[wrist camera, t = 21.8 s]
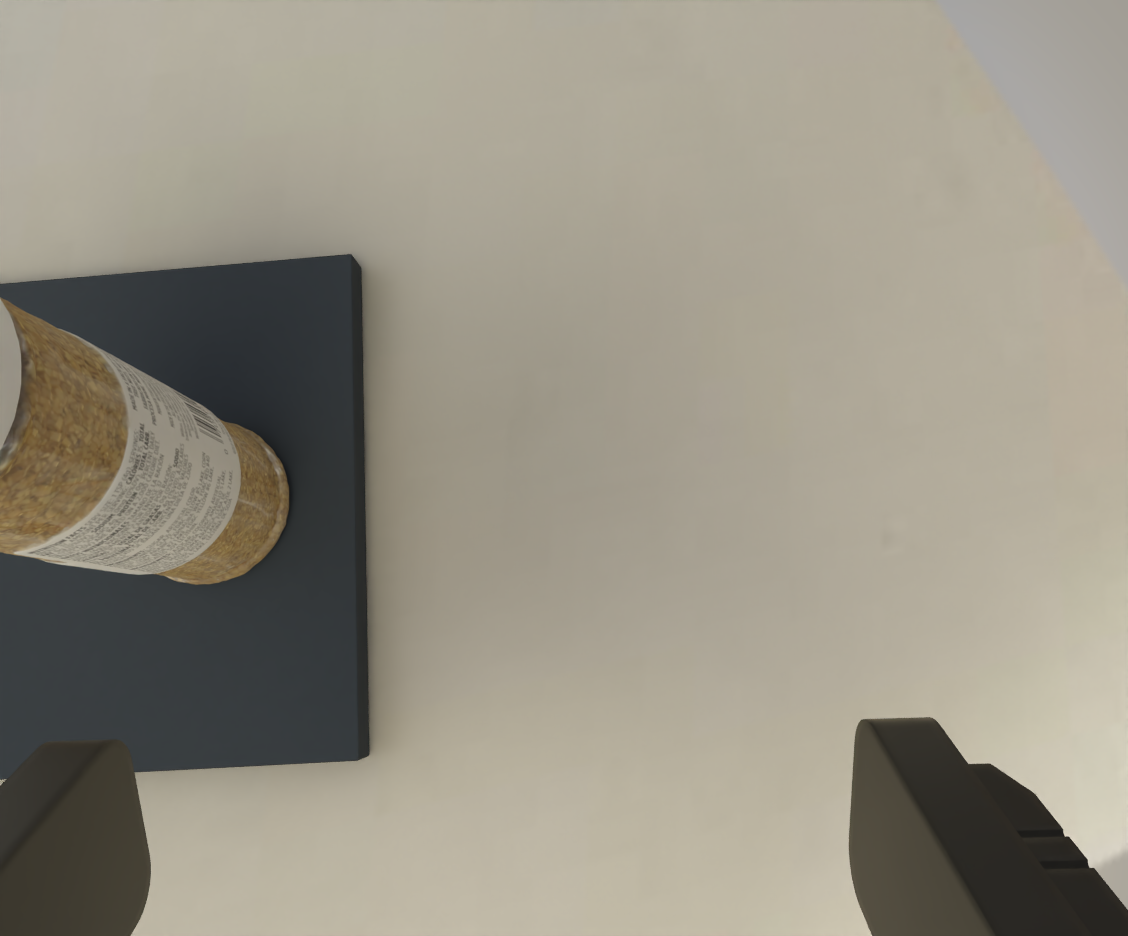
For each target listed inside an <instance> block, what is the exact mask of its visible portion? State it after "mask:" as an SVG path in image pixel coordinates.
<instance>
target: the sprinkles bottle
mask: <svg viewBox="0 0 1128 936" xmlns="http://www.w3.org/2000/svg"><path fill="white" fill-rule="evenodd" d="M288 510H289V485H288V482H287V476H286V473H285V470H284V467H283V464H282V463H281V461H280V459H279V458H278V457H277V456H276V454H275V452H274V450H273V449H272V448H271V447H270V446H269V445H267V444H266V443H265V442H264V441H263V439H262V438H261V437H260V436H258V435H257V434H255V433H254V432H252V431H250V430H247V429H245V428H243V427H241V426H239V425H237V424H233V423H228V422H224V421H222V420H220V419H219V418H217V417H216V416H215V415H214V414H213V413H212V412H211V411H209V410H208V409H207V408H205V407H204V406H202V405H201V404H199V403H197V402H195V401H193V400H191V399H190V398H188V397H186V396H184V395H182V394H181V393H179V392H177V391H176V390H174V389H172V388H170V387H169V386H167V385H165V384H163V383H162V382H160V381H158V380H156V379H154V378H152V377H151V376H149V375H147V374H145V373H143V372H142V371H140V370H138V369H136V368H134V367H133V366H131V365H129V364H127V363H125V362H124V361H122V360H120V359H118V358H116V357H115V356H113V355H111V354H109V353H107V352H105V351H104V350H102V349H100V348H98V347H96V346H94V345H93V344H91V343H89V342H87V341H85V340H84V339H82V338H80V337H78V336H76V335H74V334H72V333H69V332H67V331H64V330H62V329H58V328H56V327H54V326H52V325H51V324H49V323H47V322H45V321H44V320H42V319H40V318H38V317H35V316H33V315H31V314H29V313H26V312H25V311H23V310H21V309H20V308H18V307H16V306H15V305H13V304H12V303H10V302H9V301H7V300H5V299H2V298H0V552H2V553H6V554H12V555H18V556H25V557H31V558H36V559H40V560H43V561H45V562H50V563H55V564H60V565H68V566H75V567H83V568H90V569H97V570H104V571H111V572H118V573H126V574H136V575H143V574H157V575H162V576H166V577H168V578H170V579H172V580H174V581H177V582H184V583H189V584H195V585H198V584H214V583H219V582H222V581H227V580H229V579H232V578H235V577H238V576H241V575H243V574H245V573H246V572H248V571H249V570H250V569H251V568H252V567H253V566H255V565H256V564H257V563H259V562H260V561H261V560H262V559H263V558H264V557H265V556H266V555H267V554H268V553H269V552H270V550H271V549H272V548H273V547H274V546H275V544H276V542H277V541H278V539H279V537H280V535H281V532H282V531H283V529H284V527H285V526H286V519H287V515H288Z"/></svg>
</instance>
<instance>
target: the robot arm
mask: <svg viewBox="0 0 1128 936" xmlns="http://www.w3.org/2000/svg"><path fill="white" fill-rule="evenodd" d="M849 858H850V867H851V874H852V879H853V884H854V889H855V893H856V896H857V899H858V902H859V905H860V908H861V910H862V912H863V915H864V917H865V919H866V922H867V924H868V927H869V929H870V931H871V934H872V936H1128V910H1127V909H1126V907H1125V906H1124V905H1123V904H1122V902H1121V901H1120V900H1119V899H1118V897H1117V896H1116V895H1115V894H1114V892H1113V891H1112V890H1111V889H1110V887H1109V886H1108V885H1107V884H1106V882H1105V881H1104V880H1103V879H1102V877H1101V876H1100V875H1099V874H1098V872H1097V871H1096V870H1095V869H1094V868H1089V866H1088V860H1087V859H1086V857H1085V856H1084V855H1083V854H1082V852H1081V851H1080V850H1079V849H1078V847H1077V846H1076V845H1075V844H1074V842H1073V841H1072V840H1071V839H1070V837H1065V836H1064V834H1063V829H1062V827H1061V826H1060V825H1059V824H1058V822H1057V821H1056V820H1055V819H1054V817H1053V816H1052V815H1051V814H1050V812H1049V811H1048V810H1047V809H1046V807H1045V806H1044V805H1043V804H1042V802H1041V801H1040V800H1039V799H1038V797H1037V796H1036V795H1035V794H1034V793H1033V792H1032V791H1030V790H1029V789H1027V788H1026V787H1024V786H1023V785H1021V784H1020V783H1018V782H1017V781H1015V780H1014V779H1012V778H1011V777H1009V776H1008V775H1006V774H1005V773H1003V772H1002V771H1000V770H999V769H997V768H996V767H994V766H993V765H991V764H968V763H967V762H966V760H965V759H964V758H963V756H962V755H961V753H960V752H959V751H958V749H957V748H956V747H955V745H954V744H953V742H952V741H951V740H950V738H949V737H948V736H947V734H946V733H945V731H944V730H943V729H942V727H941V726H940V725H939V723H938V722H937V721H936V720H935V719H933V718H930V717H925V718H891V719H863V720H861V721H860V722H859V724H858V726H857V729H856V735H855V745H854V762H853V779H852V796H851V813H850V830H849ZM150 877H151V862H150V854H149V849H148V844H147V838H146V833H145V827H144V822H143V817H142V811H141V806H140V800H139V795H138V789H137V784H136V779H135V773H134V768H133V762H132V758H131V754H130V752H129V749H128V748H127V746H126V745H125V744H124V743H123V742H122V741H120V740H116V739H111V740H77V741H50V742H46V743H44V744H42V745H41V746H39V747H38V748H37V749H36V750H35V751H34V752H33V753H32V754H31V755H30V756H29V757H28V758H27V759H26V760H25V761H24V762H23V763H22V764H21V765H20V766H19V767H18V768H17V769H16V771H15V772H14V773H13V774H12V775H11V776H10V777H9V778H8V779H7V780H6V781H5V782H4V783H3V784H2V785H1V786H0V936H130V935H131V934H132V932H133V930H134V929H135V927H136V925H137V923H138V922H139V920H140V918H141V915H142V913H143V910H144V907H145V904H146V901H147V897H148V892H149V886H150Z"/></svg>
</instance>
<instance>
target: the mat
mask: <svg viewBox="0 0 1128 936" xmlns="http://www.w3.org/2000/svg"><path fill="white" fill-rule="evenodd" d="M0 298H2V299H5V300H7V301H9V302H10V303H12V304H13V305H15V306H16V307H18V308H20V309H21V310H23V311H25V312H26V313H29V314H31V315H33V316H35V317H38V318H40V319H42V320H44V321H45V322H47V323H49V324H51V325H52V326H54V327H56V328H58V329H62V330H64V331H67V332H69V333H72V334H74V335H76V336H78V337H80V338H82V339H84V340H85V341H87V342H89V343H91V344H93V345H94V346H96V347H98V348H100V349H102V350H104V351H105V352H107V353H109V354H111V355H113V356H115V357H116V358H118V359H120V360H122V361H124V362H125V363H127V364H129V365H131V366H133V367H134V368H136V369H138V370H140V371H142V372H143V373H145V374H147V375H149V376H151V377H152V378H154V379H156V380H158V381H160V382H162V383H163V384H165V385H167V386H169V387H170V388H172V389H174V390H176V391H177V392H179V393H181V394H182V395H184V396H186V397H188V398H190V399H191V400H193V401H195V402H197V403H199V404H201V405H202V406H204V407H205V408H207V409H208V410H209V411H211V412H212V413H213V414H214V415H215V416H216V417H217V418H219V419H220V420H222V421H224V422H228V423H233V424H237V425H239V426H241V427H243V428H245V429H247V430H250V431H252V432H254V433H255V434H257V435H258V436H260V437H261V438H262V439H263V441H264V442H265V443H266V444H267V445H269V446H270V447H271V448H272V449H273V450H274V452H275V454H276V456H277V457H278V458H279V459H280V461H281V463H282V464H283V467H284V470H285V473H286V476H287V482H288V485H289V510H288V515H287V519H286V526H285V527H284V529H283V531H282V532H281V535H280V537H279V539H278V541H277V542H276V544H275V546H274V547H273V548H272V549H271V550H270V552H269V553H268V554H267V555H266V556H265V557H264V558H263V559H262V560H261V561H260V562H259V563H257V564H256V565H255V566H253V567H252V568H251V569H250V570H249V571H248V572H246V573H245V574H243V575H241V576H238V577H235V578H232V579H229V580H227V581H222V582H219V583H214V584H198V585H195V584H189V583H184V582H177V581H174V580H172V579H170V578H168V577H166V576H162V575H157V574H143V575H136V574H126V573H118V572H111V571H104V570H97V569H90V568H83V567H75V566H68V565H60V564H55V563H50V562H45V561H43V560H40V559H36V558H31V557H25V556H18V555H12V554H6V553H2V552H0V779H8V778H9V777H10V776H11V775H12V774H13V773H14V772H15V771H16V769H17V768H18V767H19V766H20V765H21V764H22V763H23V762H24V761H25V760H26V759H27V758H28V757H29V756H30V755H31V754H32V753H33V752H34V751H35V750H36V749H37V748H38V747H39V746H41V745H42V744H44V743H46V742H50V741H77V740H111V739H116V740H120V741H122V742H123V743H124V744H125V745H126V746H127V748H128V749H129V752H130V754H131V758H132V762H133V768H134V772H150V771H169V770H188V769H207V768H226V767H245V766H264V765H283V764H302V763H321V762H340V761H358V760H360V759H362V758H365V757H367V756H369V722H368V660H367V598H366V537H365V475H364V413H363V351H362V289H361V267H360V266H359V264H358V263H357V261H356V260H355V259H354V257H353V256H352V255H351V254H347V255H336V256H324V257H312V258H300V259H289V260H277V261H265V262H253V263H242V264H230V265H218V266H206V267H195V268H183V269H171V270H159V271H148V272H136V273H124V274H112V275H101V276H89V277H77V278H65V279H54V280H42V281H30V282H18V283H7V284H0Z"/></svg>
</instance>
